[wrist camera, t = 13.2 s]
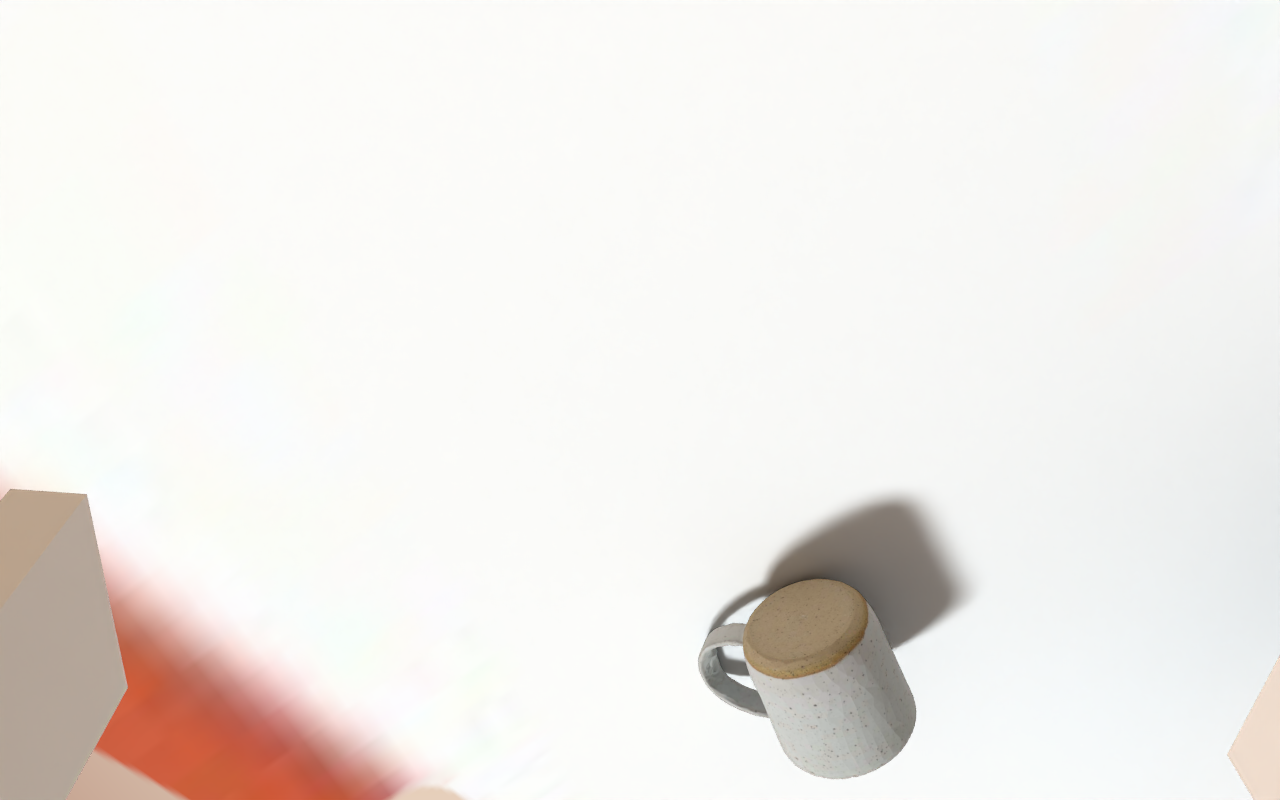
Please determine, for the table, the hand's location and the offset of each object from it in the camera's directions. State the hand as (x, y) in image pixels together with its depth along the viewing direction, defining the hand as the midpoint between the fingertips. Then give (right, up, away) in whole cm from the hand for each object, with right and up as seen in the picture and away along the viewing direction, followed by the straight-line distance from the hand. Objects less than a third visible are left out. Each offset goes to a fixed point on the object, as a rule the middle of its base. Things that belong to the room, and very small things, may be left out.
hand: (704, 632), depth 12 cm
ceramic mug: (+8, -10, +47) cm, 48 cm away
